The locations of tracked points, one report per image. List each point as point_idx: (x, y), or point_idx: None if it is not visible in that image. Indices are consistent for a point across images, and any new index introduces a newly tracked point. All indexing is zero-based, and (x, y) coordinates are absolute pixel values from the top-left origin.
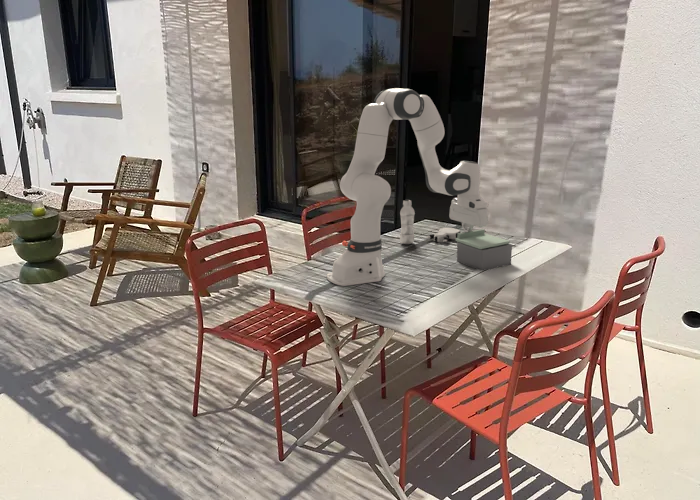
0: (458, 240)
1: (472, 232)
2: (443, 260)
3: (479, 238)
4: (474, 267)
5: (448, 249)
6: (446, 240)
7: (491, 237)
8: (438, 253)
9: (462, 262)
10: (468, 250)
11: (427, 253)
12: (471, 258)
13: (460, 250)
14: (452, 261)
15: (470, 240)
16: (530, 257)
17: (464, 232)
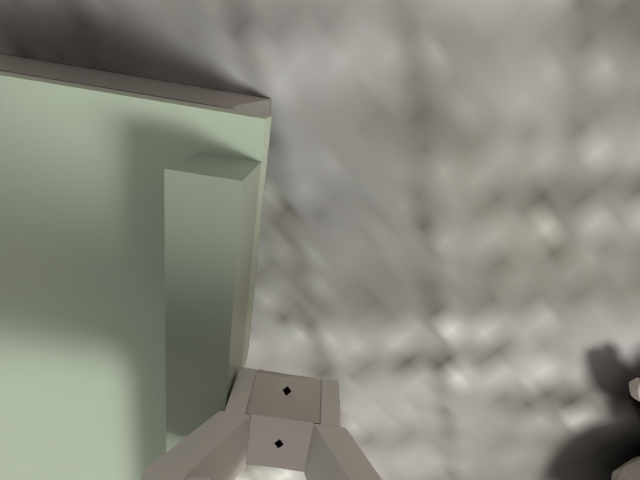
0: (186, 103)
1: (171, 410)
2: (372, 22)
3: (64, 354)
4: (34, 59)
5: (533, 298)
6: (636, 393)
7: (37, 457)
8: (540, 161)
9: (194, 86)
10: (14, 66)
11: (630, 85)
12: (24, 62)
13: (187, 92)
14: (294, 64)
15: (30, 200)
16: None
17: (209, 317)
